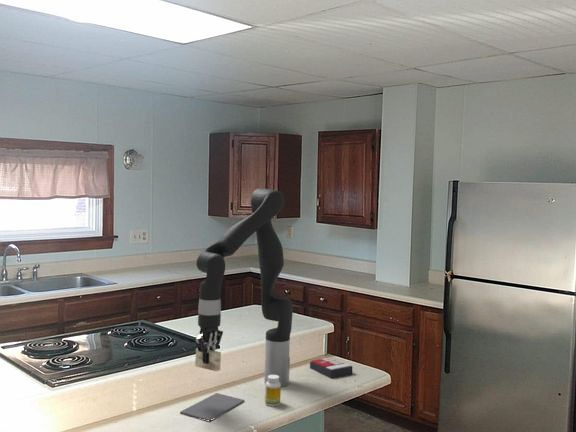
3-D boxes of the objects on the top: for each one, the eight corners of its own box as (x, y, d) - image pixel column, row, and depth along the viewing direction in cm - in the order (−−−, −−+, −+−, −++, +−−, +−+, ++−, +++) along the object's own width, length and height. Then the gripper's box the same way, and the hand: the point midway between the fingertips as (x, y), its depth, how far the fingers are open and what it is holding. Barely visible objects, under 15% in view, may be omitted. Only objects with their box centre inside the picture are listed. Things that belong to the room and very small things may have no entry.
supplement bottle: (262, 401, 198) (263, 374, 198) (276, 399, 200) (277, 373, 200) (268, 407, 193) (269, 379, 193) (282, 405, 196) (283, 378, 195)
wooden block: (220, 369, 191) (221, 352, 190) (216, 371, 189) (217, 353, 188) (199, 364, 195) (199, 347, 195) (195, 366, 193) (195, 348, 193)
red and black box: (330, 356, 242) (352, 364, 230) (330, 366, 242) (352, 375, 230) (309, 360, 236) (331, 368, 224) (309, 370, 236) (331, 379, 224)
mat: (216, 394, 204) (216, 392, 204) (244, 401, 198) (244, 400, 198) (180, 413, 186) (180, 411, 186) (209, 421, 180) (209, 420, 180)
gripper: (205, 317, 183) (204, 370, 184) (230, 309, 195) (229, 359, 196) (187, 313, 187) (186, 365, 188) (212, 306, 199) (211, 355, 200)
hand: (208, 362), depth 192 cm, fingers closed on wooden block, 2 cm apart
